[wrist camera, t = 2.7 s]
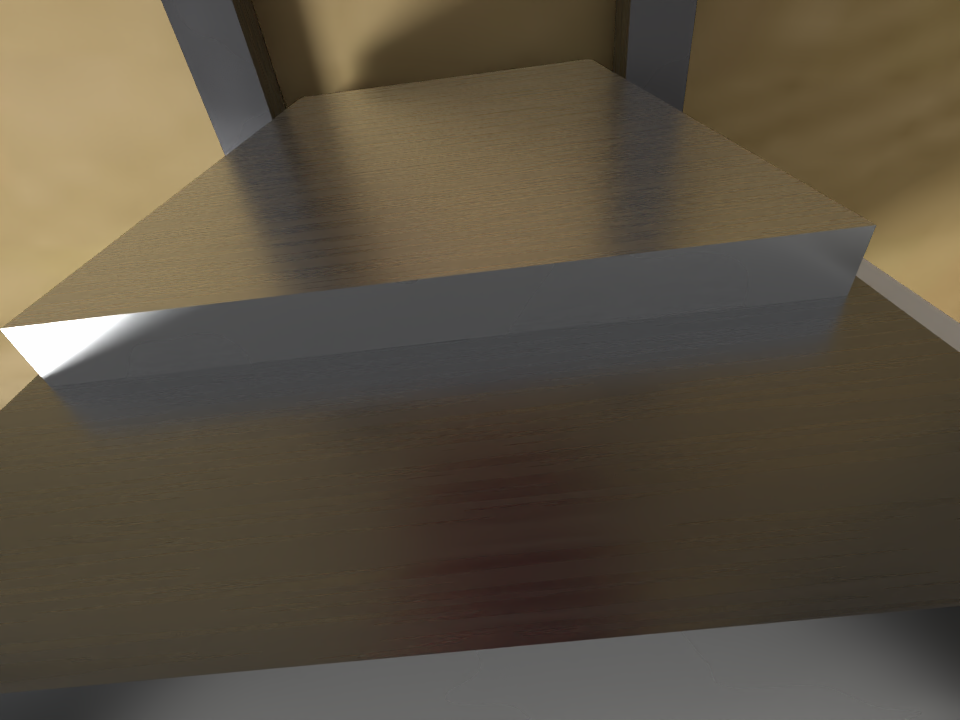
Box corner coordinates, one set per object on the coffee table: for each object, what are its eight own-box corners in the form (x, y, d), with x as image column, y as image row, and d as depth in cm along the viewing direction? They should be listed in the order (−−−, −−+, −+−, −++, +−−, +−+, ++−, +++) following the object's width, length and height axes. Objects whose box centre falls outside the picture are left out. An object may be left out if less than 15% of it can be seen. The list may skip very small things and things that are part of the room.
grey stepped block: (391, 398, 15) (313, 911, 7) (299, 92, 10) (-498, 672, 2) (584, 377, 15) (749, 880, 7) (593, 53, 10) (1415, 491, 1)
